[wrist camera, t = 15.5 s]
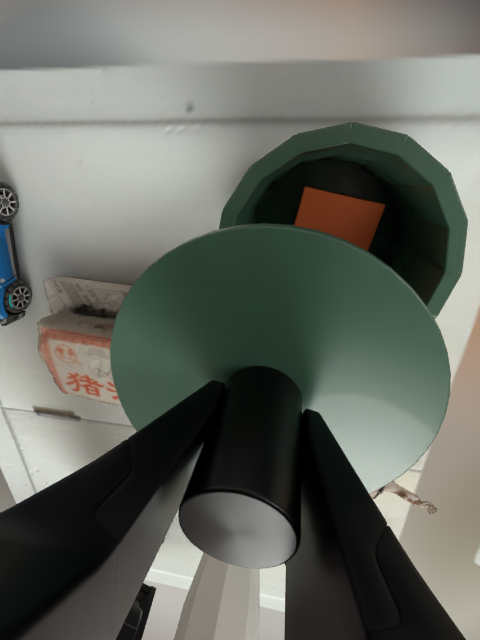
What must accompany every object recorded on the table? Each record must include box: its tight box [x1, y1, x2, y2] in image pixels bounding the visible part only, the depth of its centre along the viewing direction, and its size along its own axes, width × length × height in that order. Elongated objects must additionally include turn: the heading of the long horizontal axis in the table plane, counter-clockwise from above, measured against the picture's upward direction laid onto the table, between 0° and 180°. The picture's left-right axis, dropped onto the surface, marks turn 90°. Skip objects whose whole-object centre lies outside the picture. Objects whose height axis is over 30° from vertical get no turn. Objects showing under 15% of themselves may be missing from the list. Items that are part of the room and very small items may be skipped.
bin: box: [219, 122, 468, 319], centre depth 15 cm, size 9×9×8 cm
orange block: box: [294, 186, 386, 251], centre depth 17 cm, size 5×4×3 cm
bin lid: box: [110, 223, 451, 568], centre depth 8 cm, size 10×10×5 cm
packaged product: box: [37, 276, 132, 406], centre depth 22 cm, size 18×5×10 cm
